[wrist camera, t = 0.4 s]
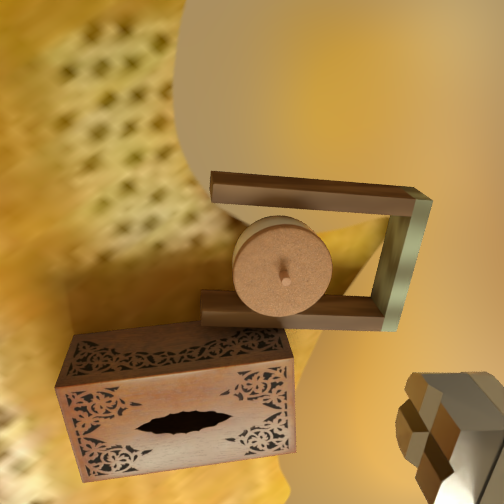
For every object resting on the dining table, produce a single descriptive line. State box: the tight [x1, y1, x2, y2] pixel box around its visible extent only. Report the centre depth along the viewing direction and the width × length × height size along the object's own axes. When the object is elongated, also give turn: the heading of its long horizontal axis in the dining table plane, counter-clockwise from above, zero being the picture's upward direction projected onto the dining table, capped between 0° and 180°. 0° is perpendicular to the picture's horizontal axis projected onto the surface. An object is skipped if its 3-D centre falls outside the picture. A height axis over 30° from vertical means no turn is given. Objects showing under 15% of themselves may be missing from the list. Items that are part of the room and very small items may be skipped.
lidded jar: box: [232, 216, 332, 317], centre depth 54 cm, size 11×11×9 cm
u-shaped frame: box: [200, 171, 433, 332], centre depth 56 cm, size 17×24×5 cm
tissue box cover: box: [55, 320, 296, 483], centre depth 60 cm, size 26×14×10 cm, turn 93°
